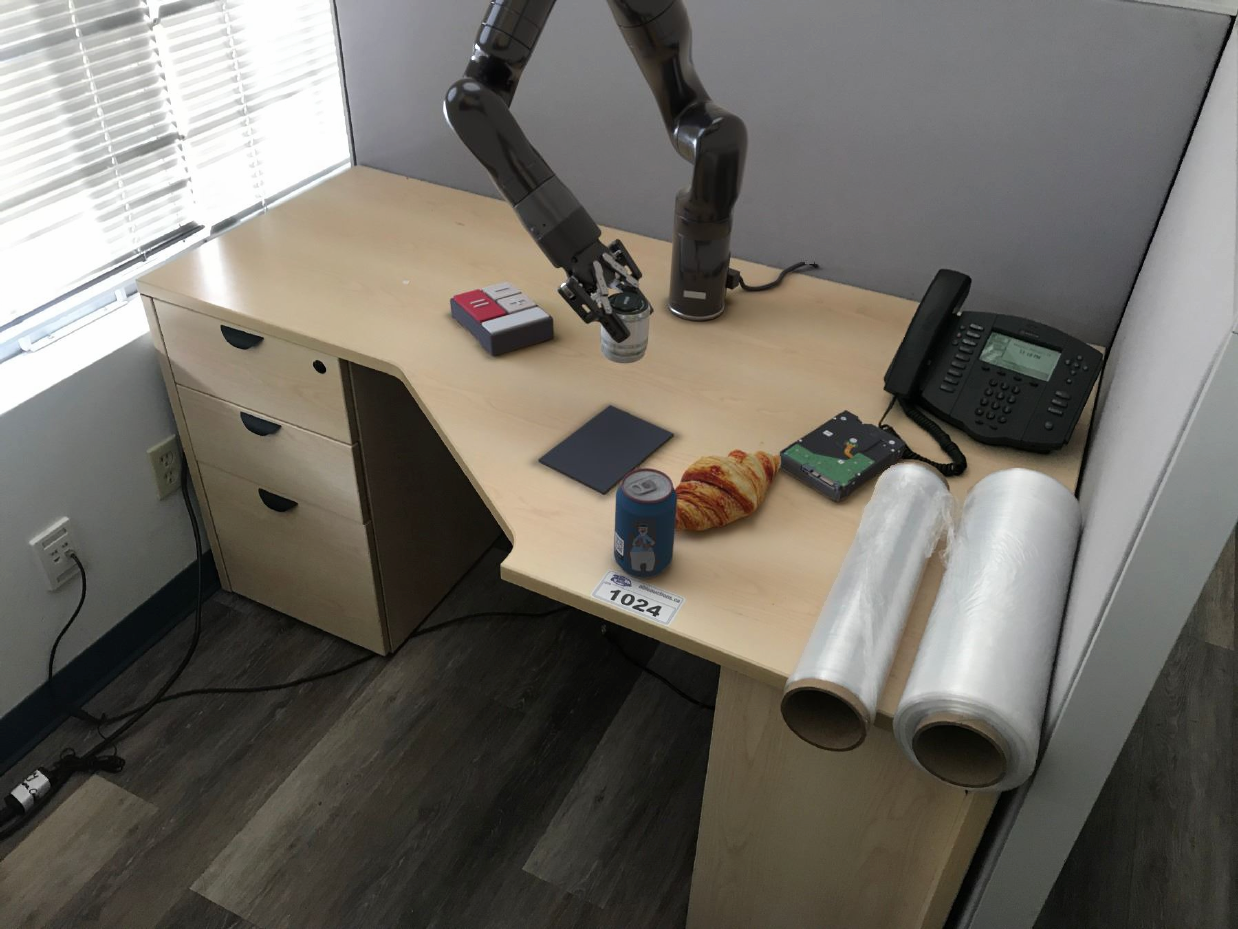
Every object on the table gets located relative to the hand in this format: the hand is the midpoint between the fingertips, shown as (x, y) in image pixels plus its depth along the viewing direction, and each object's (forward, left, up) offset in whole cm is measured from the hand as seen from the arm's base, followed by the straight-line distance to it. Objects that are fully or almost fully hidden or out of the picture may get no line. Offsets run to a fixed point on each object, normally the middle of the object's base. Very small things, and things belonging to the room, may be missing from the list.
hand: (636, 327), depth 128 cm
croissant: (+6, +18, -17) cm, 25 cm away
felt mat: (+6, 0, -16) cm, 17 cm away
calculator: (-9, -32, -17) cm, 38 cm away
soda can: (+21, +16, -17) cm, 31 cm away
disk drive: (-11, +26, -17) cm, 33 cm away
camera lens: (0, -2, -5) cm, 5 cm away
